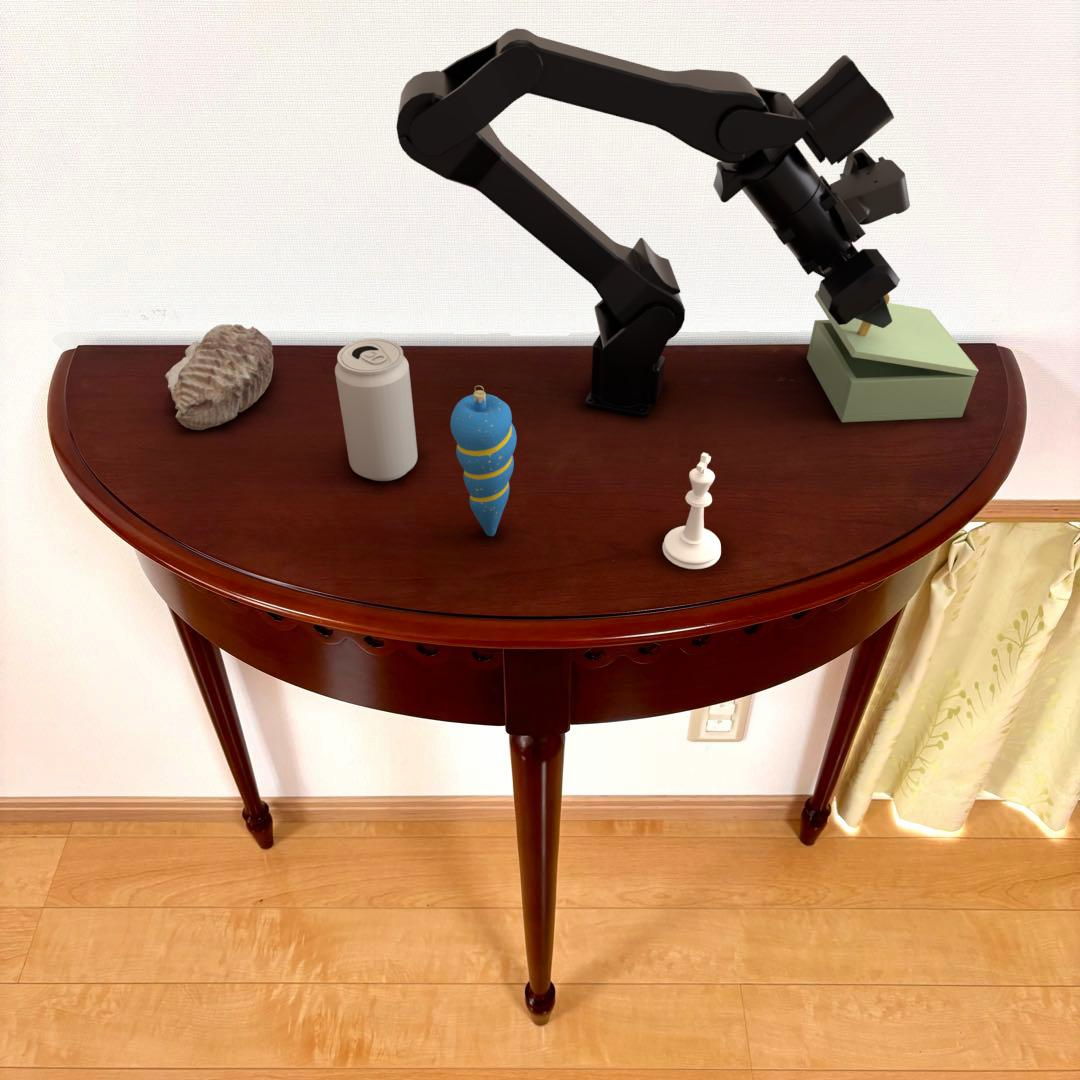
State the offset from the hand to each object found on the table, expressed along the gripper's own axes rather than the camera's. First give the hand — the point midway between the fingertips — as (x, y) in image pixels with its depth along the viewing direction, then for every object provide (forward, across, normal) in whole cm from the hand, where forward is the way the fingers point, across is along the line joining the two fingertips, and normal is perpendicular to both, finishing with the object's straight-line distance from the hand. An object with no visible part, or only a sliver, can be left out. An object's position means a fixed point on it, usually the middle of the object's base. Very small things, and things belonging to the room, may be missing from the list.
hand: (876, 309), depth 95 cm
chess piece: (-8, -24, +23) cm, 34 cm away
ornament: (-20, -21, +35) cm, 46 cm away
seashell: (-38, +3, +55) cm, 67 cm away
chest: (+8, 0, +4) cm, 9 cm away
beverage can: (-26, -10, +42) cm, 51 cm away
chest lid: (+4, 0, 0) cm, 4 cm away
